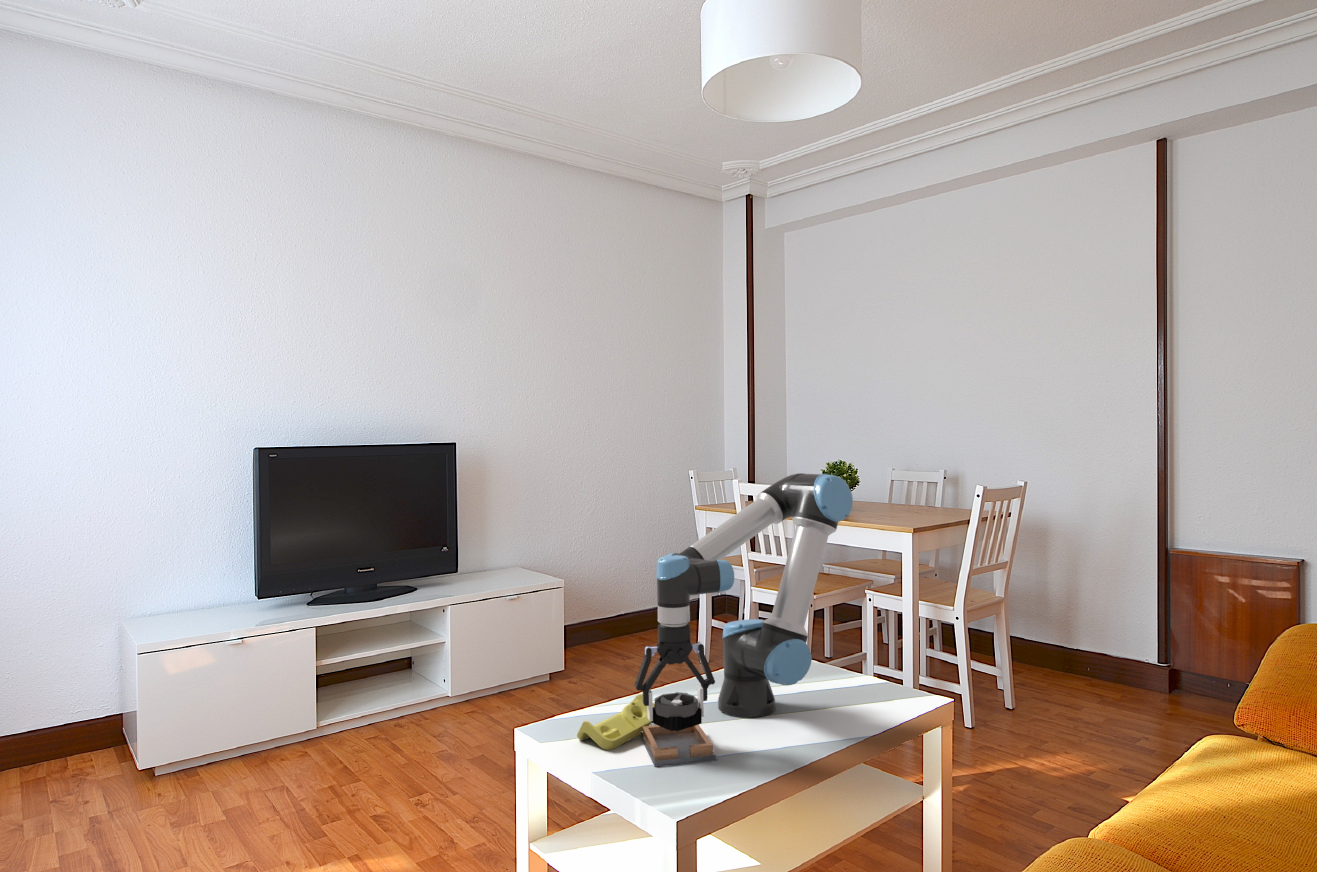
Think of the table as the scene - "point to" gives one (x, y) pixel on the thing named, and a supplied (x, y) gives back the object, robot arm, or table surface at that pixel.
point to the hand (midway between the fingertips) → (675, 716)
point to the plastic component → (618, 726)
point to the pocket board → (677, 745)
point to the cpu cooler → (676, 711)
